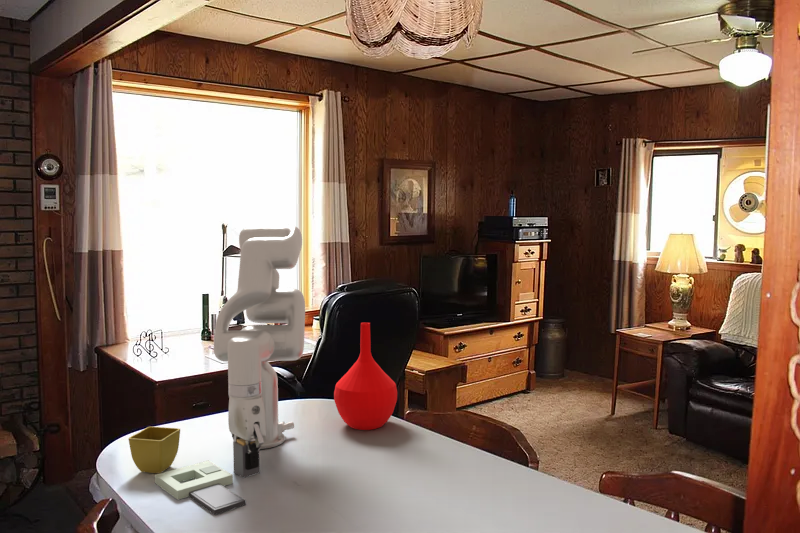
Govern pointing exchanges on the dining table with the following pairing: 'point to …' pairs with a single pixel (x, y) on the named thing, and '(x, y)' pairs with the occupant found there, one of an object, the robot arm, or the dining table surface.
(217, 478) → the outlet plate
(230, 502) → the phone slab
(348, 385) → the vase
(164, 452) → the flower pot
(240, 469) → the block
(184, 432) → the dining table surface
